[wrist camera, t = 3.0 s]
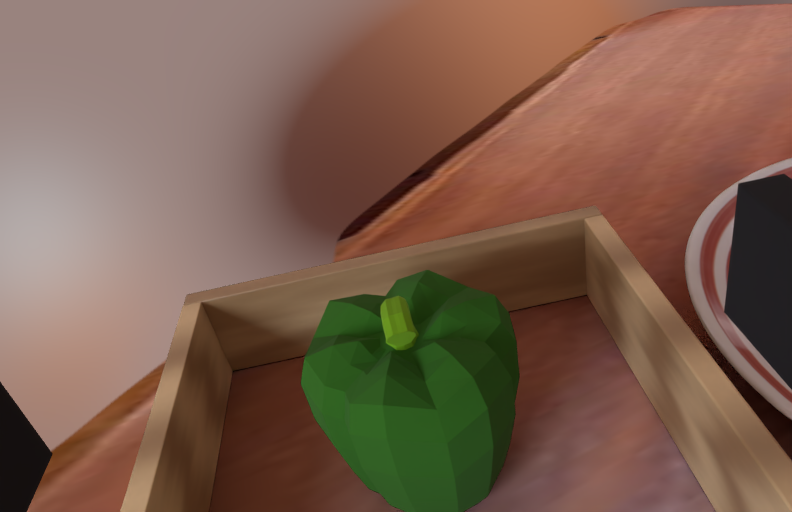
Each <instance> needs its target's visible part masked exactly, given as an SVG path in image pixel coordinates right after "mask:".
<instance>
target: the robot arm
mask: <svg viewBox="0 0 792 512" xmlns="http://www.w3.org/2000/svg"><path fill="white" fill-rule="evenodd" d="M724 313H725V314H726V315H727V316H728V317H729V318H730V320H731V321H732V322H733V323H734V324H735V325H736V327H737V328H738V329H739V330H740V331H741V332H742V333H743V335H744V336H745V337H746V338H747V339H748V340H749V341H750V343H751V344H752V345H753V346H754V347H755V348H756V350H757V351H758V352H759V353H760V354H761V355H762V356H763V358H764V359H765V360H766V361H767V362H768V363H769V364H770V366H771V367H772V368H773V369H774V370H775V371H776V373H777V374H778V375H779V376H780V377H781V378H782V379H783V381H784V382H785V383H786V384H787V385H788V386H789V387H790V389H791V390H792V179H791V178H790V177H788V176H787V175H785V174H780V175H775V176H771V177H766V178H761V179H757V180H752V181H747V182H743V183H738V191H737V200H736V209H735V218H734V227H733V236H732V245H731V254H730V263H729V272H728V281H727V290H726V299H725V308H724ZM51 456H52V452H51V451H50V450H49V448H48V447H47V446H46V444H45V443H44V441H43V440H42V439H41V437H40V436H39V435H38V433H37V432H36V430H35V429H34V428H33V426H32V425H31V424H30V422H29V421H28V419H27V418H26V417H25V415H24V414H23V412H22V411H21V410H20V408H19V407H18V406H17V404H16V403H15V401H14V400H13V399H12V397H11V396H10V395H9V393H8V392H7V390H6V389H5V388H4V386H3V385H2V384H1V382H0V512H27V510H28V508H29V505H30V503H31V501H32V499H33V496H34V494H35V492H36V490H37V488H38V485H39V483H40V481H41V479H42V476H43V474H44V472H45V470H46V467H47V465H48V463H49V461H50V458H51Z"/></svg>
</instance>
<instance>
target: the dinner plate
mask: <svg viewBox="0 0 792 512" xmlns="http://www.w3.org/2000/svg"><path fill="white" fill-rule="evenodd" d="M780 174H785V175H787V176H788V177H790V178H791V179H792V158H790V159H787V160H783V161H780V162H778V163H775V164H772V165H770V166H767V167H765V168H763V169H760V170H758V171H756V172H754V173H752V174H750V175H749V176H747V177H745V178H743V179H741V180H740V181H738V182H736V183H735V184H733V185H732V186H730V187H729V188H727V189H726V190H725V191H723V192H722V193H721V194H720V195H718V196H717V197H716V198H715V199H714V200H713V201H712V202H711V203H710V205H709V206H708V207H707V208H706V209H705V210H704V211H703V213H702V214H701V216H700V217H699V219H698V220H697V222H696V224H695V226H694V228H693V230H692V232H691V234H690V237H689V239H688V243H687V248H686V254H685V275H686V281H687V287H688V291H689V294H690V298H691V301H692V303H693V306H694V308H695V311H696V313H697V315H698V317H699V319H700V321H701V323H702V324H703V326H704V328H705V330H706V332H707V333H708V335H709V336H710V338H711V339H712V341H713V342H714V344H715V345H716V347H717V348H718V350H719V351H720V352H721V353H722V354H723V356H724V357H725V358H726V359H727V361H728V362H729V363H730V364H731V365H732V366H733V367H734V368H735V369H736V371H737V372H738V373H739V374H740V375H741V376H742V377H743V378H744V379H745V380H746V381H747V382H748V383H749V384H750V385H751V386H752V387H753V388H754V389H755V390H756V391H757V392H758V393H759V394H760V395H762V396H763V397H764V398H765V399H766V400H767V401H768V402H769V403H771V404H772V405H773V406H774V407H775V408H776V409H777V410H778V411H780V412H781V413H782V414H784V415H785V416H786V417H787V418H789V419H790V420H791V421H792V390H791V389H790V387H789V386H788V385H787V384H786V383H785V382H784V381H783V379H782V378H781V377H780V376H779V375H778V374H777V373H776V371H775V370H774V369H773V368H772V367H771V366H770V364H769V363H768V362H767V361H766V360H765V359H764V358H763V356H762V355H761V354H760V353H759V352H758V351H757V350H756V348H755V347H754V346H753V345H752V344H751V343H750V341H749V340H748V339H747V338H746V337H745V336H744V335H743V333H742V332H741V331H740V330H739V329H738V328H737V327H736V325H735V324H734V323H733V322H732V321H731V320H730V318H729V317H728V316H727V315H726V314H725V313H724V308H725V299H726V290H727V281H728V272H729V263H730V254H731V245H732V236H733V227H734V218H735V209H736V200H737V191H738V183H743V182H747V181H752V180H757V179H761V178H766V177H771V176H775V175H780Z"/></svg>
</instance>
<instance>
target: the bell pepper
mask: <svg viewBox="0 0 792 512" xmlns="http://www.w3.org/2000/svg"><path fill="white" fill-rule="evenodd" d="M518 382H519V365H518V354H517V342H516V338H515V334H514V330H513V326H512V323H511V319H510V315H509V312H508V311H507V310H506V309H505V307H504V306H503V305H502V304H501V302H500V301H499V300H498V299H497V297H496V296H495V295H494V294H490V293H487V292H484V291H480V290H477V289H474V288H470V287H467V286H465V285H463V284H460V283H458V282H456V281H453V280H451V279H449V278H446V277H444V276H442V275H439V274H437V273H435V272H432V271H430V270H425V271H422V272H419V273H416V274H413V275H410V276H407V277H404V278H401V279H398V280H396V282H395V283H394V285H393V286H392V287H391V289H390V290H389V292H388V293H387V294H386V296H381V295H371V294H361V295H356V296H351V297H346V298H340V299H335V300H330V301H329V303H328V305H327V307H326V309H325V312H324V314H323V316H322V319H321V321H320V323H319V325H318V328H317V330H316V332H315V335H314V337H313V339H312V341H311V344H310V346H309V348H308V351H307V353H306V355H305V358H304V364H303V371H302V378H301V385H302V388H303V390H304V393H305V395H306V398H307V400H308V403H309V405H310V408H311V410H312V413H313V415H314V418H315V420H316V421H317V423H318V424H319V425H320V427H321V428H322V430H323V431H324V432H325V434H326V435H327V436H328V438H329V439H330V441H331V442H332V443H333V445H334V446H335V448H336V449H337V450H338V452H339V453H340V454H341V456H342V457H343V458H344V459H345V461H346V462H347V463H348V465H349V466H350V467H351V469H352V470H353V471H354V473H355V474H356V475H357V476H358V477H359V478H360V479H361V480H362V481H363V483H364V484H365V485H366V486H367V487H368V488H369V489H370V490H373V491H375V492H378V493H380V494H381V495H382V496H383V497H384V499H385V500H386V501H387V502H388V503H389V504H390V505H391V506H394V507H396V508H398V509H400V510H403V511H405V512H464V511H466V510H467V509H469V508H471V507H472V506H474V505H476V504H478V503H479V502H481V501H482V500H483V499H485V498H486V497H487V496H488V495H489V493H490V491H491V489H492V487H493V485H494V483H495V481H496V479H497V477H498V475H499V473H500V471H501V469H502V467H503V465H504V462H505V458H506V455H507V452H508V448H509V445H510V440H511V435H512V430H513V425H514V419H515V414H516V413H515V398H516V393H517V388H518Z"/></svg>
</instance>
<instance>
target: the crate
mask: <svg viewBox="0 0 792 512" xmlns="http://www.w3.org/2000/svg"><path fill="white" fill-rule="evenodd" d="M425 270H430V271H432V272H435V273H437V274H439V275H442V276H444V277H446V278H449V279H451V280H453V281H456V282H458V283H460V284H463V285H465V286H467V287H470V288H474V289H477V290H480V291H484V292H487V293H490V294H494V295H495V296H496V297H497V299H498V300H499V301H500V302H501V304H502V305H503V306H504V307H505V309H506V310H507V311H508V312H509V311H513V310H518V309H523V308H527V307H532V306H537V305H541V304H546V303H551V302H555V301H560V300H565V299H569V298H574V297H578V296H583V295H587V296H588V298H589V299H590V301H591V303H592V304H593V306H594V308H595V309H596V311H597V313H598V314H599V316H600V318H601V319H602V321H603V323H604V324H605V326H606V328H607V329H608V331H609V333H610V334H611V336H612V338H613V339H614V341H615V343H616V345H617V346H618V348H619V350H620V351H621V353H622V355H623V356H624V358H625V360H626V361H627V363H628V365H629V366H630V368H631V370H632V371H633V373H634V375H635V376H636V378H637V380H638V381H639V383H640V385H641V386H642V388H643V390H644V391H645V393H646V395H647V397H648V398H649V400H650V402H651V403H652V405H653V407H654V408H655V410H656V412H657V413H658V415H659V417H660V418H661V420H662V422H663V423H664V425H665V427H666V428H667V430H668V432H669V433H670V435H671V437H672V438H673V440H674V442H675V444H676V445H677V447H678V449H679V450H680V452H681V454H682V455H683V457H684V459H685V460H686V462H687V464H688V465H689V467H690V469H691V470H692V472H693V474H694V475H695V477H696V479H697V480H698V482H699V484H700V485H701V487H702V489H703V490H704V492H705V494H706V496H707V497H708V499H709V501H710V502H711V504H712V506H713V507H714V509H715V511H716V512H792V460H791V459H790V458H789V457H788V455H787V454H786V453H785V451H784V450H783V449H782V447H781V446H780V445H779V444H778V442H777V441H776V440H775V438H774V437H773V436H772V434H771V433H770V432H769V431H768V429H767V428H766V427H765V425H764V424H763V423H762V421H761V420H760V419H759V418H758V416H757V415H756V414H755V412H754V411H753V410H752V408H751V407H750V406H749V405H748V403H747V402H746V401H745V399H744V398H743V397H742V395H741V394H740V393H739V392H738V390H737V389H736V388H735V386H734V385H733V384H732V382H731V381H730V380H729V379H728V377H727V376H726V375H725V373H724V372H723V371H722V369H721V368H720V367H719V366H718V364H717V363H716V362H715V360H714V359H713V358H712V356H711V355H710V354H709V353H708V351H707V350H706V349H705V347H704V346H703V345H702V343H701V342H700V341H699V340H698V338H697V337H696V336H695V334H694V333H693V332H692V330H691V329H690V328H689V327H688V325H687V324H686V323H685V321H684V320H683V319H682V317H681V316H680V315H679V314H678V312H677V311H676V310H675V308H674V307H673V306H672V304H671V303H670V302H669V301H668V299H667V298H666V297H665V295H664V294H663V293H662V291H661V290H660V289H659V288H658V286H657V285H656V284H655V282H654V281H653V280H652V278H651V277H650V276H649V275H648V273H647V272H646V271H645V269H644V268H643V267H642V265H641V264H640V263H639V262H638V260H637V259H636V258H635V256H634V255H633V254H632V252H631V251H630V250H629V249H628V247H627V246H626V245H625V243H624V242H623V241H622V239H621V238H620V237H619V236H618V234H617V233H616V232H615V230H614V229H613V228H612V226H611V225H610V224H609V223H608V221H607V220H606V219H605V217H604V216H603V215H602V213H601V212H600V211H599V209H598V208H597V207H596V206H591V207H586V208H582V209H577V210H572V211H568V212H563V213H559V214H554V215H550V216H545V217H540V218H536V219H531V220H527V221H522V222H517V223H513V224H508V225H504V226H499V227H495V228H490V229H485V230H481V231H476V232H472V233H467V234H463V235H458V236H453V237H449V238H444V239H440V240H435V241H430V242H426V243H421V244H417V245H412V246H408V247H403V248H398V249H394V250H389V251H385V252H380V253H376V254H371V255H366V256H362V257H357V258H353V259H348V260H343V261H339V262H334V263H330V264H326V265H321V266H316V267H311V268H307V269H302V270H298V271H293V272H289V273H284V274H280V275H275V276H271V277H266V278H261V279H257V280H252V281H248V282H243V283H238V284H234V285H229V286H224V287H220V288H215V289H211V290H206V291H202V292H197V293H193V294H188V295H187V296H186V298H185V302H184V306H183V307H182V311H181V314H180V317H179V321H178V324H177V327H176V330H175V334H174V337H173V340H172V343H171V347H170V350H169V353H168V357H167V360H166V363H165V366H164V370H163V373H162V376H161V380H160V383H159V386H158V390H157V393H156V396H155V399H154V403H153V406H152V409H151V413H150V416H149V419H148V422H147V426H146V429H145V432H144V436H143V439H142V442H141V445H140V449H139V452H138V455H137V459H136V462H135V465H134V468H133V472H132V475H131V478H130V482H129V485H128V488H127V492H126V495H125V498H124V501H123V505H122V508H121V511H120V512H209V508H210V502H211V496H212V490H213V485H214V479H215V473H216V467H217V461H218V455H219V449H220V443H221V438H222V432H223V426H224V420H225V414H226V408H227V402H228V396H229V391H230V385H231V379H232V373H233V371H235V370H240V369H244V368H249V367H253V366H258V365H263V364H267V363H272V362H277V361H281V360H286V359H291V358H295V357H300V356H305V355H306V353H307V351H308V348H309V346H310V344H311V341H312V339H313V337H314V335H315V332H316V330H317V328H318V325H319V323H320V321H321V319H322V316H323V314H324V312H325V309H326V307H327V305H328V303H329V301H330V300H335V299H340V298H346V297H351V296H356V295H361V294H371V295H381V296H386V294H387V293H388V292H389V290H390V289H391V287H392V286H393V285H394V283H395V282H396V280H398V279H401V278H404V277H407V276H410V275H413V274H416V273H419V272H422V271H425Z"/></svg>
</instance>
